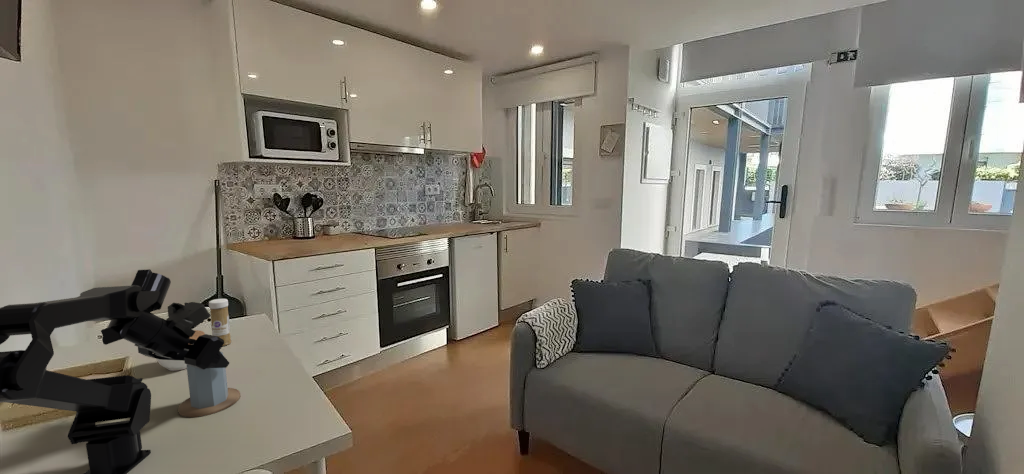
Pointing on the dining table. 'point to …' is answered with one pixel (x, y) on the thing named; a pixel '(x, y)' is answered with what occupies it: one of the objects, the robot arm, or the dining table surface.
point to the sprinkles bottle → (220, 319)
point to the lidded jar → (178, 364)
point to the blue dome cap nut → (207, 386)
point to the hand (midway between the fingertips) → (212, 361)
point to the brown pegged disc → (190, 411)
